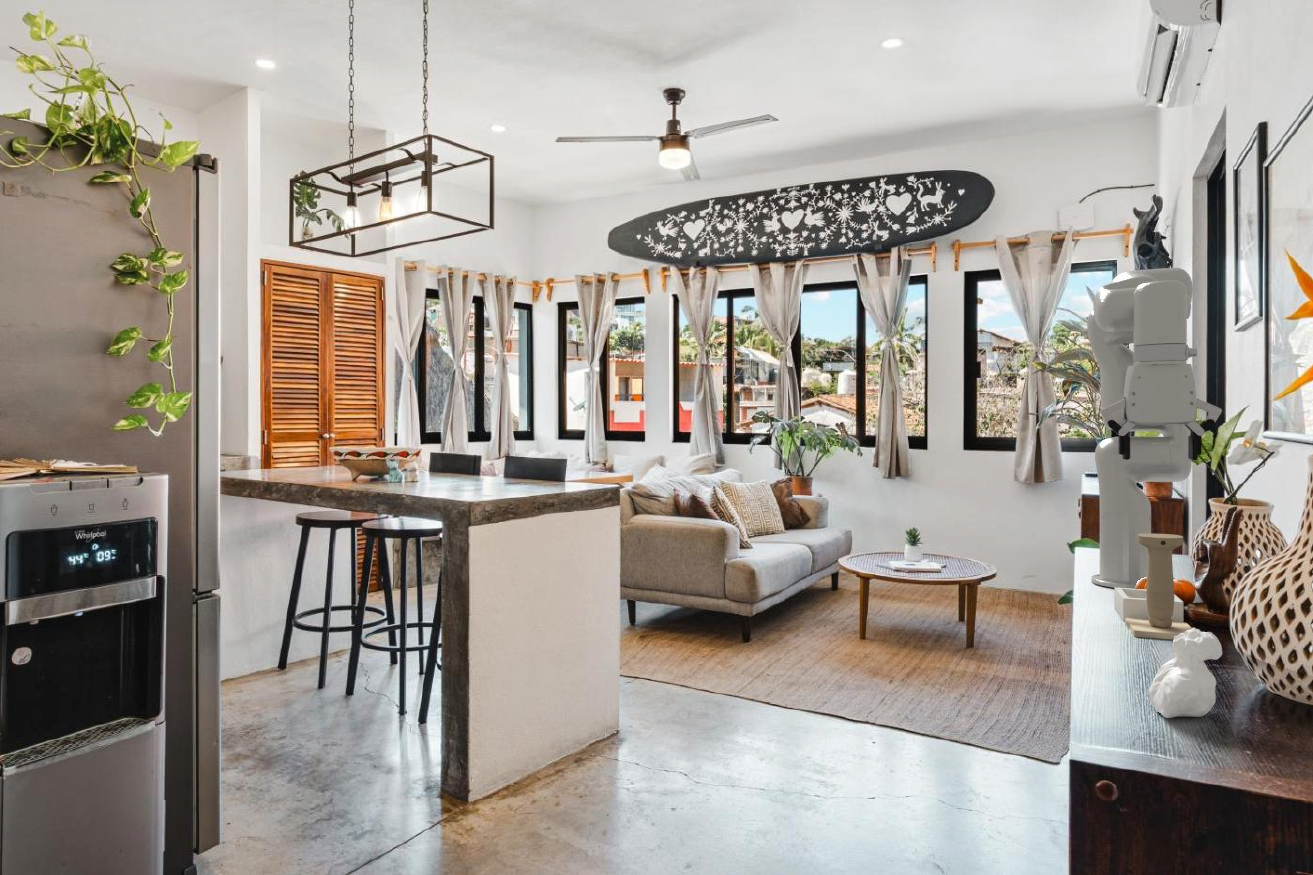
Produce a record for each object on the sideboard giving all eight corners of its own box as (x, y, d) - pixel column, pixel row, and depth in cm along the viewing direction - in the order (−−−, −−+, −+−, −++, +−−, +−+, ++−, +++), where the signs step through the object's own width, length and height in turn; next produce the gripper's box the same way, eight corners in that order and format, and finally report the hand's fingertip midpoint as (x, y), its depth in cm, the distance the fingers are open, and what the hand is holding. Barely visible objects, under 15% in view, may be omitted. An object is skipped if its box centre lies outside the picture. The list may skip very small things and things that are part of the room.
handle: (1186, 631, 131) (1186, 538, 131) (1140, 628, 133) (1140, 537, 133) (1179, 623, 136) (1178, 534, 135) (1135, 620, 138) (1134, 533, 137)
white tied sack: (1184, 747, 93) (1259, 680, 89) (1123, 697, 96) (1194, 630, 92) (1185, 715, 103) (1253, 653, 99) (1130, 671, 106) (1194, 609, 102)
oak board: (1125, 623, 140) (1125, 618, 140) (1186, 628, 137) (1186, 622, 137) (1134, 636, 132) (1134, 630, 132) (1199, 641, 128) (1199, 635, 128)
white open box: (1114, 608, 151) (1114, 587, 151) (1170, 612, 148) (1170, 590, 148) (1123, 621, 142) (1123, 598, 142) (1183, 625, 139) (1183, 602, 139)
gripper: (1215, 356, 135) (1214, 458, 136) (1097, 359, 142) (1097, 457, 142) (1227, 353, 128) (1227, 461, 129) (1104, 357, 135) (1103, 460, 135)
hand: (1159, 459), depth 135 cm, fingers open, 9 cm apart
